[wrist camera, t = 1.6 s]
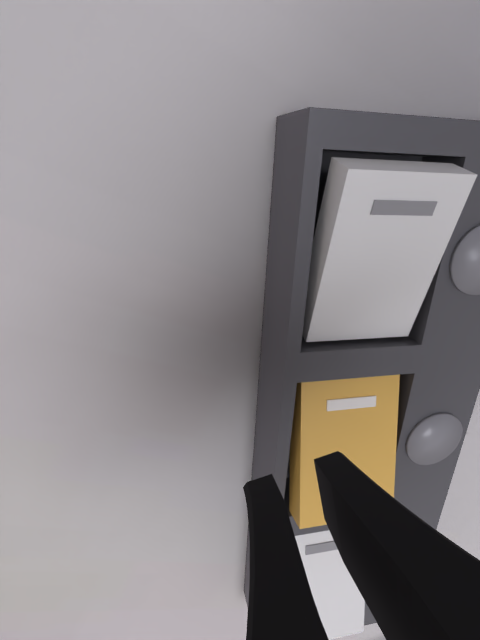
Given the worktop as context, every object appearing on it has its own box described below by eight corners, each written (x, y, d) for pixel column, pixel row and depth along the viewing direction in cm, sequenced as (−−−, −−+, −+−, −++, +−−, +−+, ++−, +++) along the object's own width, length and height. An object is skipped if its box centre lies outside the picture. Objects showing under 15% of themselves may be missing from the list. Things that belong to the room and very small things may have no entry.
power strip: (487, 131, 18) (565, 126, 15) (370, 601, 30) (399, 657, 27) (277, 116, 16) (312, 106, 13) (241, 629, 28) (254, 694, 25)
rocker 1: (355, 504, 23) (368, 519, 22) (351, 611, 24) (364, 633, 23) (275, 516, 22) (284, 533, 21) (275, 628, 23) (283, 651, 22)
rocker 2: (452, 163, 15) (478, 175, 14) (392, 317, 19) (408, 337, 18) (331, 156, 14) (349, 169, 13) (295, 322, 18) (306, 343, 17)
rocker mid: (382, 365, 20) (400, 373, 18) (377, 497, 21) (394, 514, 19) (290, 372, 19) (302, 381, 17) (289, 510, 20) (300, 530, 18)
